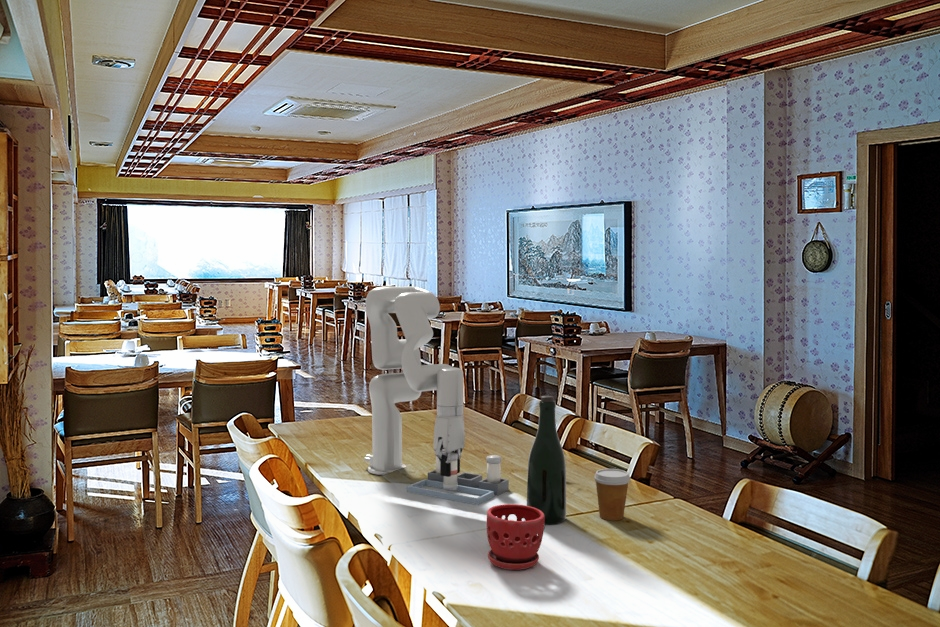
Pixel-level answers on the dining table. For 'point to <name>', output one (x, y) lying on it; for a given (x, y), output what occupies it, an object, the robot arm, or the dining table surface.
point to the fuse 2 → (494, 469)
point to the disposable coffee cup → (611, 492)
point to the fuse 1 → (438, 465)
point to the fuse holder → (474, 482)
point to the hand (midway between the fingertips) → (450, 473)
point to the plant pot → (514, 536)
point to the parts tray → (416, 489)
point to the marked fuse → (451, 481)
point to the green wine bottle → (547, 467)
